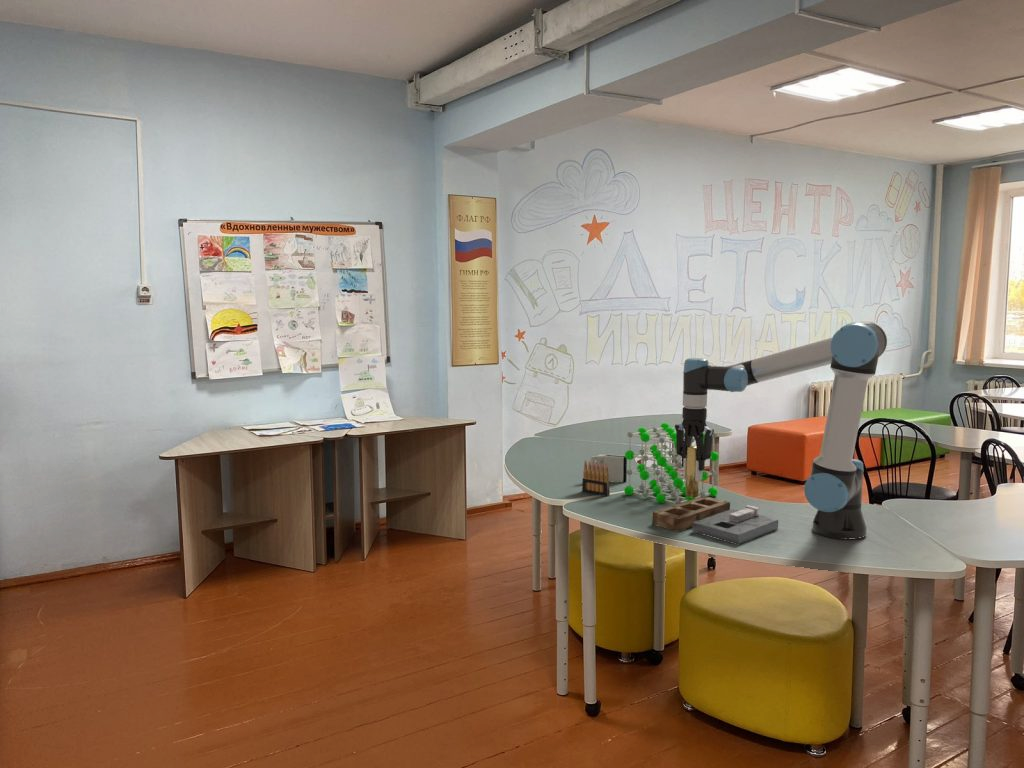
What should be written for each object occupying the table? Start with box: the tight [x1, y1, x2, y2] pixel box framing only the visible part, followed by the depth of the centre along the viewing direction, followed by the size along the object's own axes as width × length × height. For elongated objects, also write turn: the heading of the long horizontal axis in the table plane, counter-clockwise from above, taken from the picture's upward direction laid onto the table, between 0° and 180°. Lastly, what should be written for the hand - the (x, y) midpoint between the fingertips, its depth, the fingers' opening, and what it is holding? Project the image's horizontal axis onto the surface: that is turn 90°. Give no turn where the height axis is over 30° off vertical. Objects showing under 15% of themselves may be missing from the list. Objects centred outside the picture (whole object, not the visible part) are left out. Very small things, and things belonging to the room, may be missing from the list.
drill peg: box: [685, 445, 700, 497], centre depth 243 cm, size 4×4×16 cm
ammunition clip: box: [581, 459, 611, 497], centre depth 275 cm, size 11×2×12 cm, turn 53°
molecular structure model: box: [623, 422, 720, 505], centre depth 271 cm, size 24×25×24 cm
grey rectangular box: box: [590, 454, 628, 483], centre depth 294 cm, size 14×5×10 cm, turn 84°
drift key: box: [729, 504, 761, 523], centre depth 235 cm, size 4×12×2 cm, turn 131°
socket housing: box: [691, 508, 779, 545], centre depth 232 cm, size 16×22×3 cm
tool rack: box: [651, 495, 731, 532], centre depth 244 cm, size 10×28×4 cm, turn 131°
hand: (692, 478), depth 243 cm, fingers closed on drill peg, 4 cm apart
